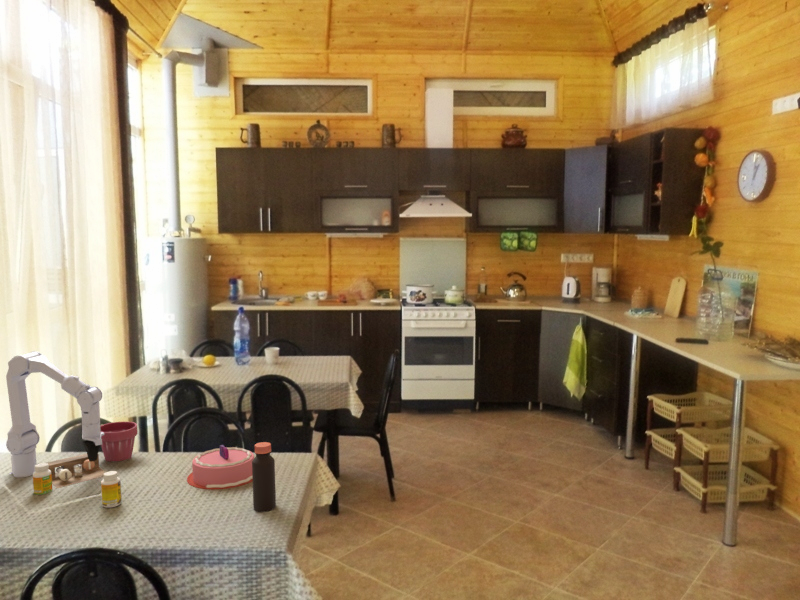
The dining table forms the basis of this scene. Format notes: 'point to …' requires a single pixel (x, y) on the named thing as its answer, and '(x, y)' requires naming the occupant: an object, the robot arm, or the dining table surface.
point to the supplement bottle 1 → (42, 479)
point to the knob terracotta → (88, 465)
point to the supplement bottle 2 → (111, 489)
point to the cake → (221, 468)
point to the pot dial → (78, 471)
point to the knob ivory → (64, 474)
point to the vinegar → (263, 478)
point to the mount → (69, 464)
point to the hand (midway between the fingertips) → (92, 460)
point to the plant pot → (118, 440)
